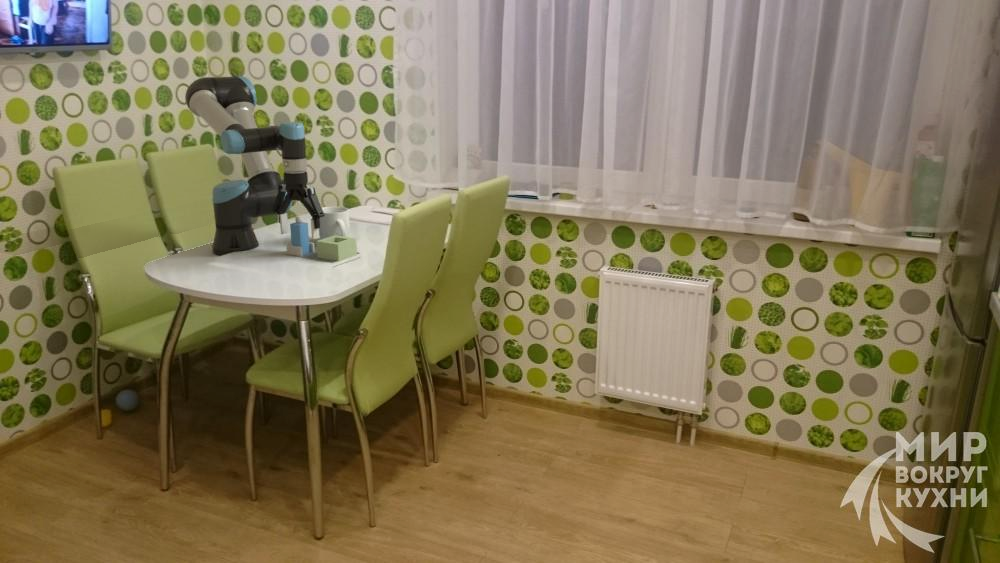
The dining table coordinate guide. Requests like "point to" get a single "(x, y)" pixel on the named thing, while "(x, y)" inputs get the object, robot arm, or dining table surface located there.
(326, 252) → the port
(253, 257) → the dining table surface
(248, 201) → the robot arm
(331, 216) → the mug
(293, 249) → the panel
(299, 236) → the plug
